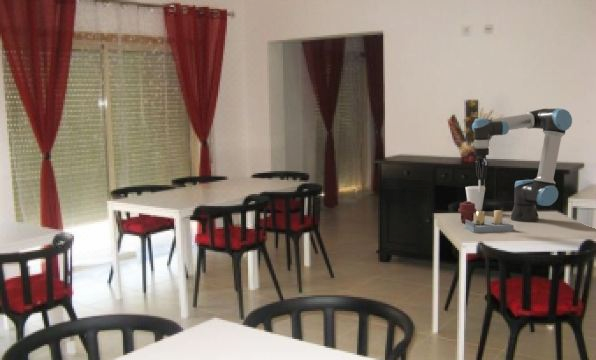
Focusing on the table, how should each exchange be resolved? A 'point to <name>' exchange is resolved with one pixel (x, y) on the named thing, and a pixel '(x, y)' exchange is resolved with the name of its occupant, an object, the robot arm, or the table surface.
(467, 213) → the mechanical component
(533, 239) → the table surface
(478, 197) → the cup
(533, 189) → the robot arm
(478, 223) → the bushing
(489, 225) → the jig
